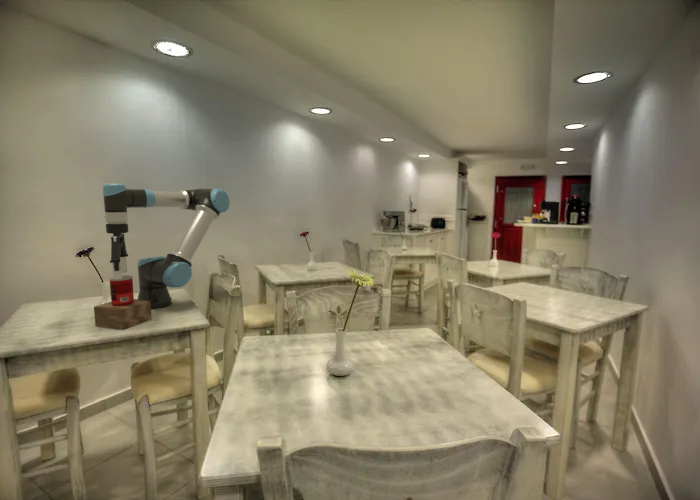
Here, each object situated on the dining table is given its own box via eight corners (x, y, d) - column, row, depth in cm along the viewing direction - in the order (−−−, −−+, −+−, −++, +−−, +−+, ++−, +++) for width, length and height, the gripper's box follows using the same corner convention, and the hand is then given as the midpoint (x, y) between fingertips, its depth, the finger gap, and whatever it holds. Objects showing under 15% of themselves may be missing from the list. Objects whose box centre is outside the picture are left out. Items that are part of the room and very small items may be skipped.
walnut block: (125, 316, 164) (124, 298, 163) (151, 319, 160) (150, 300, 159) (95, 326, 151) (93, 306, 150) (122, 330, 147) (121, 310, 146)
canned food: (138, 301, 158) (136, 275, 157) (125, 306, 150) (123, 279, 149) (121, 300, 159) (119, 275, 158) (107, 305, 151) (104, 278, 150)
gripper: (111, 221, 160) (115, 270, 163) (98, 225, 137) (103, 282, 140) (132, 221, 163) (135, 269, 166) (122, 224, 140) (126, 281, 143)
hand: (120, 275), depth 153 cm, fingers open, 13 cm apart
